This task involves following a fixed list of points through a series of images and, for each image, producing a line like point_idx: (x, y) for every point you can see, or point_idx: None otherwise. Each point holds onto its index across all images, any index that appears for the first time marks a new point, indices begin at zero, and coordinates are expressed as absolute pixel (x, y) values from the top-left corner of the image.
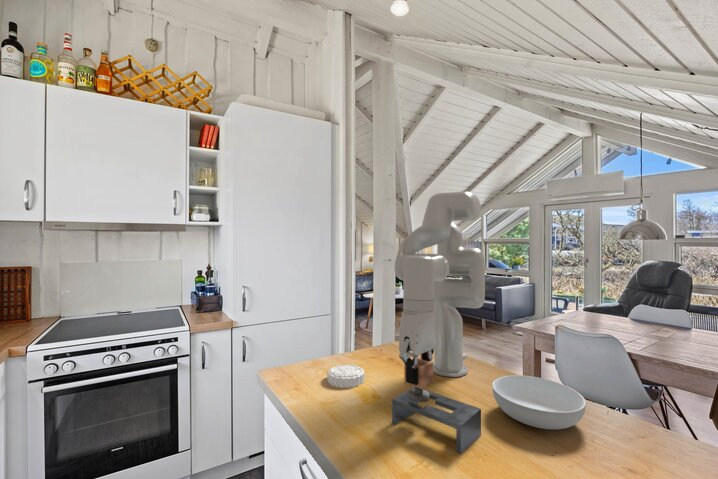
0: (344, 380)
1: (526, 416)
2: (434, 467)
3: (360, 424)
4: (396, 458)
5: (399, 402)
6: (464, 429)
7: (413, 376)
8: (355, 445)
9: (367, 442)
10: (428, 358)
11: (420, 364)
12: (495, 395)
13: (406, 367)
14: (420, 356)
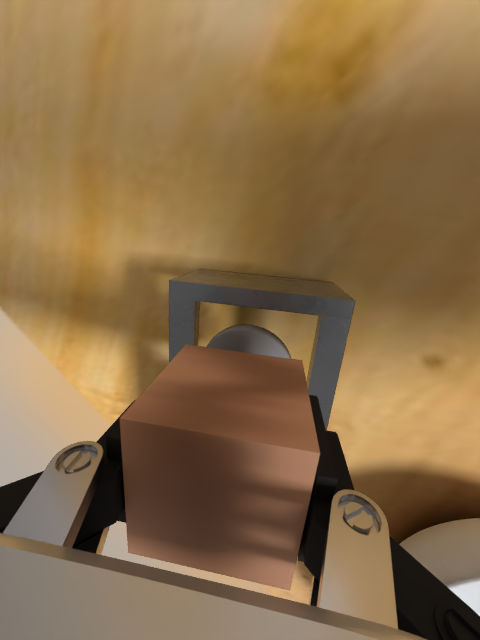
0: None
1: None
2: None
3: (131, 187)
4: (91, 354)
5: (170, 317)
6: None
7: None
8: (54, 249)
9: (84, 266)
10: (314, 582)
11: (179, 531)
12: (449, 564)
13: (114, 429)
14: (331, 513)
